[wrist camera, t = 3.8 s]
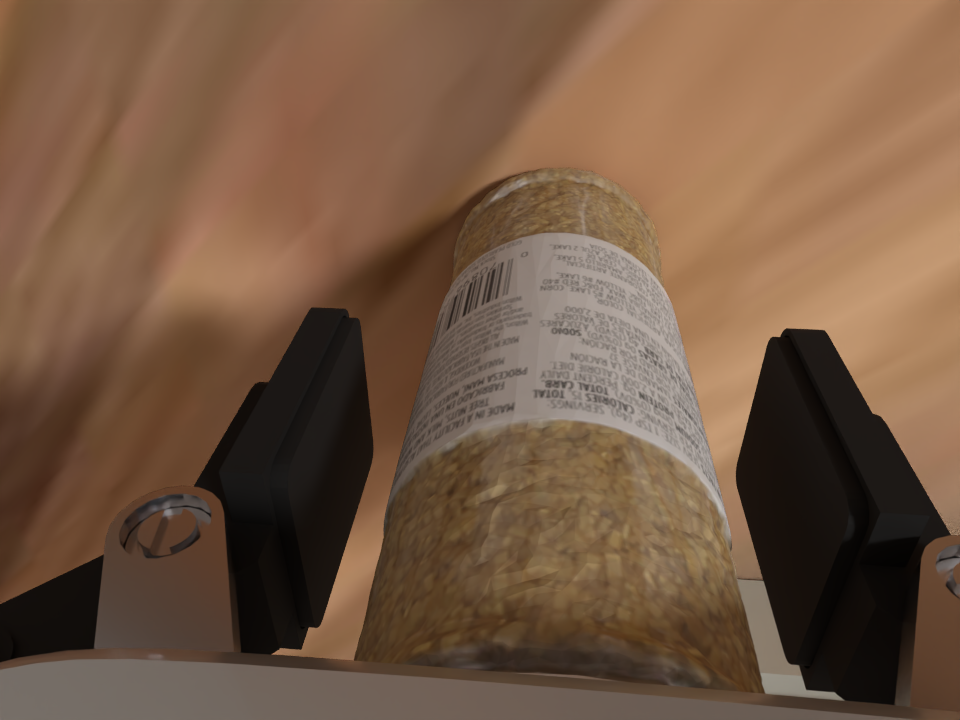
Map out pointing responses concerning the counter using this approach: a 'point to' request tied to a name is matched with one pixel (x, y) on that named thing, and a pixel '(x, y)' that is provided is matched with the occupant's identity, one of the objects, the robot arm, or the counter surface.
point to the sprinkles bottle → (559, 463)
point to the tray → (772, 646)
